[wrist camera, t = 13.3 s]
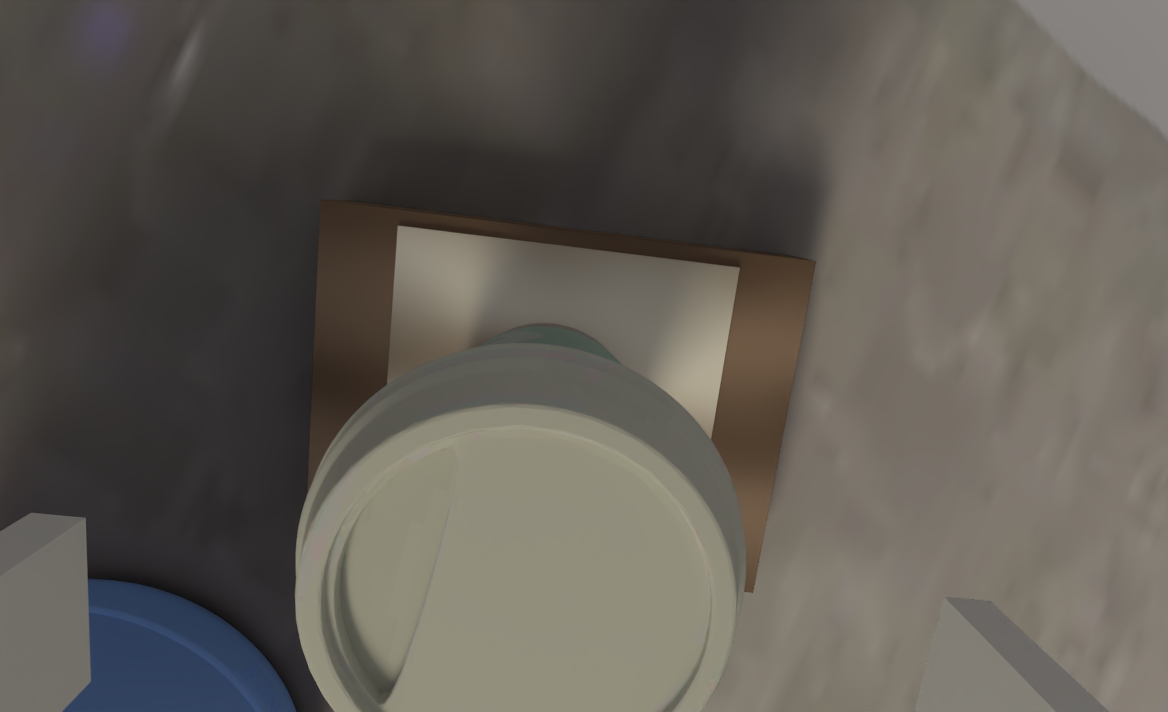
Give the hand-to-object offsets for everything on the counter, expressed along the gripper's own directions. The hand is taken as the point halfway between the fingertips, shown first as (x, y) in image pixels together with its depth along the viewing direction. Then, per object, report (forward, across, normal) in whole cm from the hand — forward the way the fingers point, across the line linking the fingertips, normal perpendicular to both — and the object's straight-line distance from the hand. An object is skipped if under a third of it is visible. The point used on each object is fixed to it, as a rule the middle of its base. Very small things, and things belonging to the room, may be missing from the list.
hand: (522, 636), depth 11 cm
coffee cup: (+13, 0, 0) cm, 13 cm away
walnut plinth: (+16, 0, 0) cm, 16 cm away
